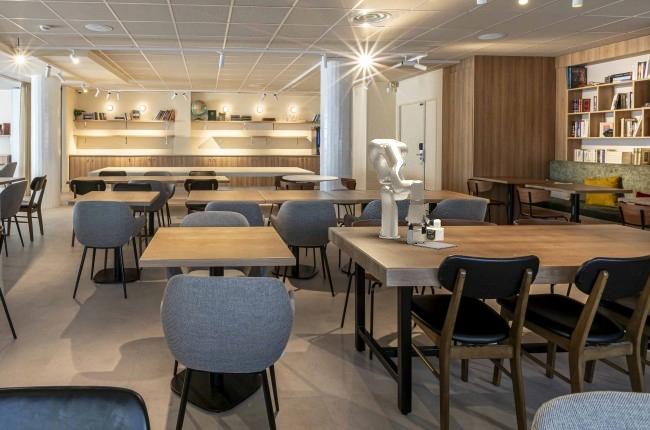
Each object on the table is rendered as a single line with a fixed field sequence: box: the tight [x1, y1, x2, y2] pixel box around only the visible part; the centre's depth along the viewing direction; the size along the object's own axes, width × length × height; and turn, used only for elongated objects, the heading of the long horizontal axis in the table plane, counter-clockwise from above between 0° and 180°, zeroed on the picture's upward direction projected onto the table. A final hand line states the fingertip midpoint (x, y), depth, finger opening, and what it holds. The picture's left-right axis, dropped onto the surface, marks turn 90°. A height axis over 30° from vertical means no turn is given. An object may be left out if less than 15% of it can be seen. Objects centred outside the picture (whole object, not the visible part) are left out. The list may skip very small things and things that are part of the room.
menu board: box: [406, 228, 426, 245], centre depth 355 cm, size 3×11×8 cm, turn 129°
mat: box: [412, 241, 458, 250], centre depth 345 cm, size 18×16×1 cm
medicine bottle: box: [425, 218, 445, 242], centre depth 365 cm, size 7×7×12 cm
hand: (417, 233), depth 354 cm, fingers open, 9 cm apart
